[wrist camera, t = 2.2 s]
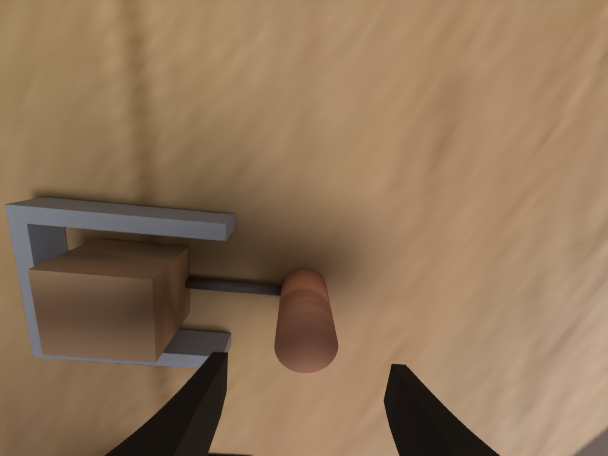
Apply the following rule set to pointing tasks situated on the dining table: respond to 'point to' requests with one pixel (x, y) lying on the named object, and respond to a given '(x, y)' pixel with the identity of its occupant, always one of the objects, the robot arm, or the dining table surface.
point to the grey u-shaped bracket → (121, 218)
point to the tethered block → (161, 304)
